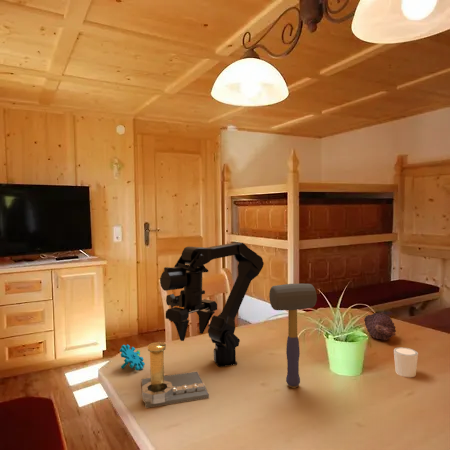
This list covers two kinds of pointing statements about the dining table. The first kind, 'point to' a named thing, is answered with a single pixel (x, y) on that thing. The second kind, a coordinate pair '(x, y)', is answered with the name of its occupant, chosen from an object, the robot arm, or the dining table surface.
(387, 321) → the pine cone
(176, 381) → the grey base plate
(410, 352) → the shot glass
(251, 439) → the dining table surface
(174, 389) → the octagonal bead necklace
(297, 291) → the rubber mallet
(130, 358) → the gear
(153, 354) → the golden flared cup
